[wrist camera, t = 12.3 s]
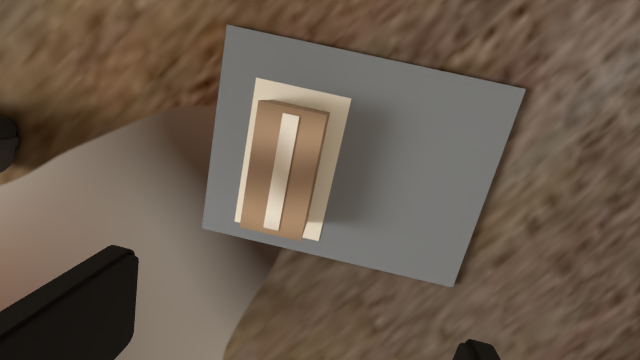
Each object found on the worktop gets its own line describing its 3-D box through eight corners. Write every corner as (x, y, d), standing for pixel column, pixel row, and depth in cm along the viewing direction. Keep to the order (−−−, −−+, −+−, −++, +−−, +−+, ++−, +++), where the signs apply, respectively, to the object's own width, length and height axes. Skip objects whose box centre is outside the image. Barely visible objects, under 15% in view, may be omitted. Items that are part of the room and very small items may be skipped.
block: (307, 222, 29) (300, 241, 25) (253, 210, 30) (239, 227, 26) (330, 112, 27) (326, 115, 23) (271, 99, 27) (258, 100, 23)
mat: (522, 89, 26) (526, 88, 25) (450, 283, 30) (452, 288, 30) (229, 26, 26) (226, 24, 26) (204, 225, 31) (201, 228, 31)
